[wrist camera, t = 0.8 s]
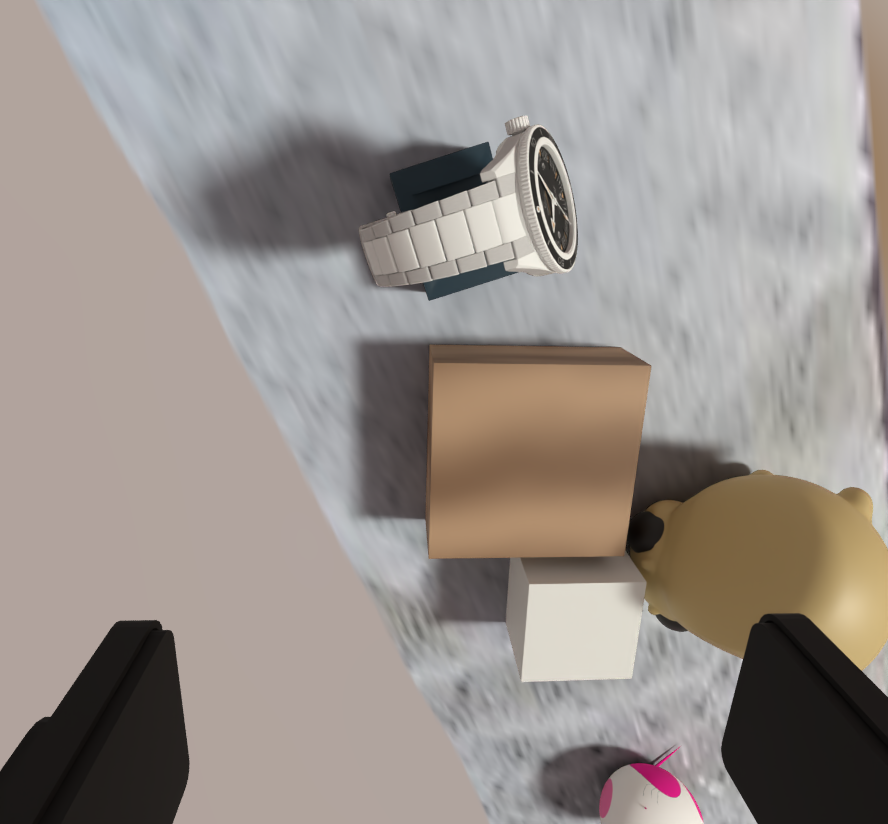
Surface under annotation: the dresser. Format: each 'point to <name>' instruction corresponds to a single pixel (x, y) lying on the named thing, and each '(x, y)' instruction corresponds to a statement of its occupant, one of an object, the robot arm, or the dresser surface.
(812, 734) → the robot arm
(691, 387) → the dresser surface
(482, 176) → the watch
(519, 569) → the off-white block
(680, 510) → the beige rounded piece
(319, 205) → the dresser surface
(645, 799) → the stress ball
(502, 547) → the walnut block
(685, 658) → the dresser surface
